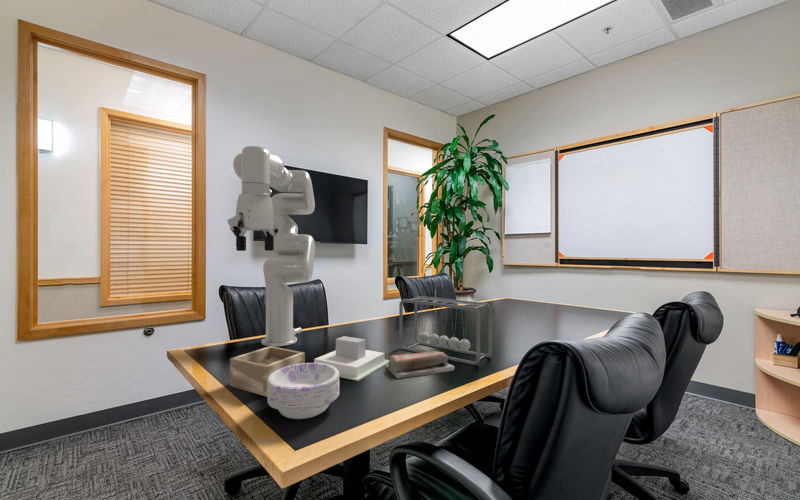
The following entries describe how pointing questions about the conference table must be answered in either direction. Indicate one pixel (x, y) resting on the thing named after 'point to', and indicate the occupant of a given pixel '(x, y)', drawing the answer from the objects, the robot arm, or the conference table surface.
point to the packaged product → (418, 364)
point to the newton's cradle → (444, 340)
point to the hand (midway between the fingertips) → (255, 250)
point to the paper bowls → (303, 389)
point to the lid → (351, 356)
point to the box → (260, 367)
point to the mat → (364, 372)
